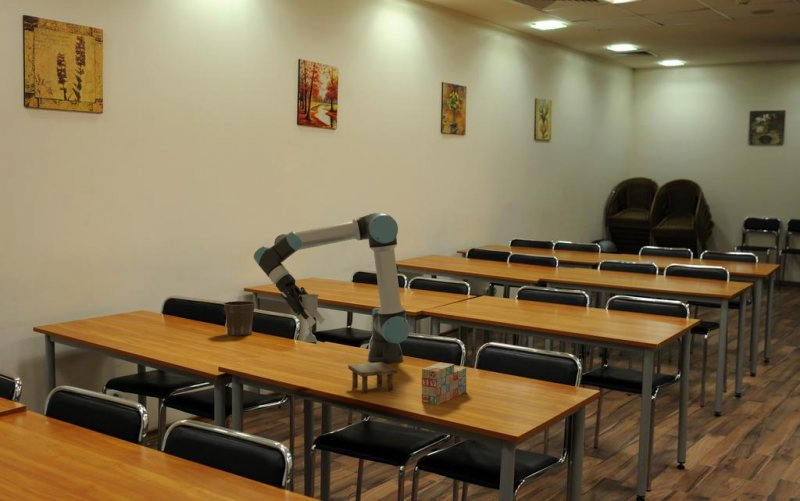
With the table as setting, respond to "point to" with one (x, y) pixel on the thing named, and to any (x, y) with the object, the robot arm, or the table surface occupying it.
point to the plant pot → (239, 317)
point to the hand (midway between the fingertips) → (318, 322)
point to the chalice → (310, 312)
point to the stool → (372, 374)
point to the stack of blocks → (442, 382)
